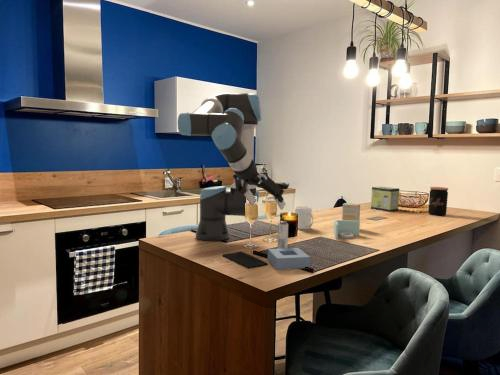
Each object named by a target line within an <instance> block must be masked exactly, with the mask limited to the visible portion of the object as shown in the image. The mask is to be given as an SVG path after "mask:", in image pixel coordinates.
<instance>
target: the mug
mask: <svg viewBox="0 0 500 375" xmlns="http://www.w3.org/2000/svg"><path fill="white" fill-rule="evenodd" d="M294 208H295V209H294V214H295V213H298V230H310V229H311V228H312V226H313V224H314V216H313V213H312V211H313V210H312V207H309V206H295V207H294Z"/></svg>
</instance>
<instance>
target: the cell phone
mask: <svg viewBox="0 0 500 375" xmlns="http://www.w3.org/2000/svg"><path fill="white" fill-rule="evenodd" d="M222 257H223V258H225V259H227V260H230V261H231V262H234V263H236V264H237V265H240V266H242V267H244V268H245V269H247V270H248V269H249V270H251V269H255V268H259V267H264V266H268V265H269V263H268V262H267V261H264V260H262V259H259V258H258V257H255V256H252V255H251V254H248V253H246V252H243V251H235V252H231V253H230V252H229V253H222Z"/></svg>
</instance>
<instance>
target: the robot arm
mask: <svg viewBox="0 0 500 375" xmlns="http://www.w3.org/2000/svg"><path fill="white" fill-rule="evenodd" d="M261 121H262V111H261V104H260V97H259V96H258V94H257V93H249V92H246V93H245V92H244V93H241V92H240V93H238V92H236V93H231V92H230V93H229V92H223V93H217V94H214V95H211V96H209V97H208V98H206V99H204V100H203V101H202V103H201V104H200V106H199V107H198V108H196V109H195V110H193V112H182V113H179V115H178V117H177V130H178V133H179V135H182V136H188V137H190V136H199V137H200V136H203V137H204V136H205V137H206V136H210V137H211V139H212V140H213V142H214V145H215V147H216V148H217V149H218V150H219V152H220V153H221V154H222V156H223V157H224V158H225V160H226V163H228V165H229V167H230V168H231V169H232V171H233V176H232V178H233V183H232V184H231V185H230V189H227V186H225V185H222V186H221V185H220V186H209V187H205V188H203V189H201V190H200V196H199V222H198V226H197V228H196V232H195V238H196V239H198V240H201V241H205V242H206V241H207V242H217V241H219V242H220V241H224V239H225V240H227V239H229V238H230V231H229V228H228V225H227V222H226V217H227V216H236V217H237V216H239V217H240V216H241V217H246V216H245V203H246V198H247V200H248V201H249V203H250V204H251V205H252V206H253V205H254V203H255V202H256V199H255V197H254V196H257V202H258V203H259V198H260V191H259V190H257V187H258V188H260V189H262V190H264V191H265V192H267V193H268V194H270V195H271V196H273V199H274V202H276V204H277V206H278V208H279V209H280V210H281V211H282V210H284V207H285V206H286V202H285V200H284V197H283V194H284V192H285V190H284V189H283V188H282V187H281V186H280V185H278V184H277V183H276V182H275V181H274V180H273V179H271V178H270V177H269V175H268V174H267V173H266V172H263V173H262V174H260V173H259V172H258V166H257V165H256V162H255V160H254V157H255V154H254V152H255V151H254V150H255V148H254V146H255V144H254V143H255V129H256V128H257V127H258V123H259V122H261ZM253 195H254V196H253Z"/></svg>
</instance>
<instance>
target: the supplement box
mask: <svg viewBox="0 0 500 375" xmlns="http://www.w3.org/2000/svg"><path fill="white" fill-rule="evenodd" d="M341 214H342V215H341V217H342V218H341V220H350V221H360V216H361V204H360V203H352V202H349V203H348V202H344V203H342V212H341Z"/></svg>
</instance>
